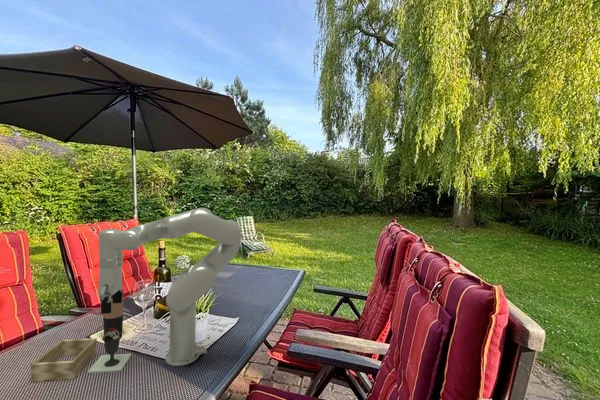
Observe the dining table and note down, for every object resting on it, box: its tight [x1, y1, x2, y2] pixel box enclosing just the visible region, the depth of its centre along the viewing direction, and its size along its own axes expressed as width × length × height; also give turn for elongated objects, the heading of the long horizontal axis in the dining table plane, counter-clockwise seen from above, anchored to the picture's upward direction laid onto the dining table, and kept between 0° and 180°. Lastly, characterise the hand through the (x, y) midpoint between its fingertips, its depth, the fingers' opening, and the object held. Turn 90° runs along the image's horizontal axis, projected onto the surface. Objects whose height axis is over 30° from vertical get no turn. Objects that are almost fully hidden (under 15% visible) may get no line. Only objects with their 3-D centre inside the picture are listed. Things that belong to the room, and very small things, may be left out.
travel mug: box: [102, 288, 124, 337], centre depth 141 cm, size 8×8×20 cm
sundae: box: [101, 322, 123, 367], centre depth 118 cm, size 7×7×15 cm
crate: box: [30, 337, 98, 382], centre depth 116 cm, size 13×17×6 cm
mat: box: [87, 353, 133, 374], centre depth 119 cm, size 11×11×1 cm
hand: (112, 307), depth 118 cm, fingers open, 9 cm apart
